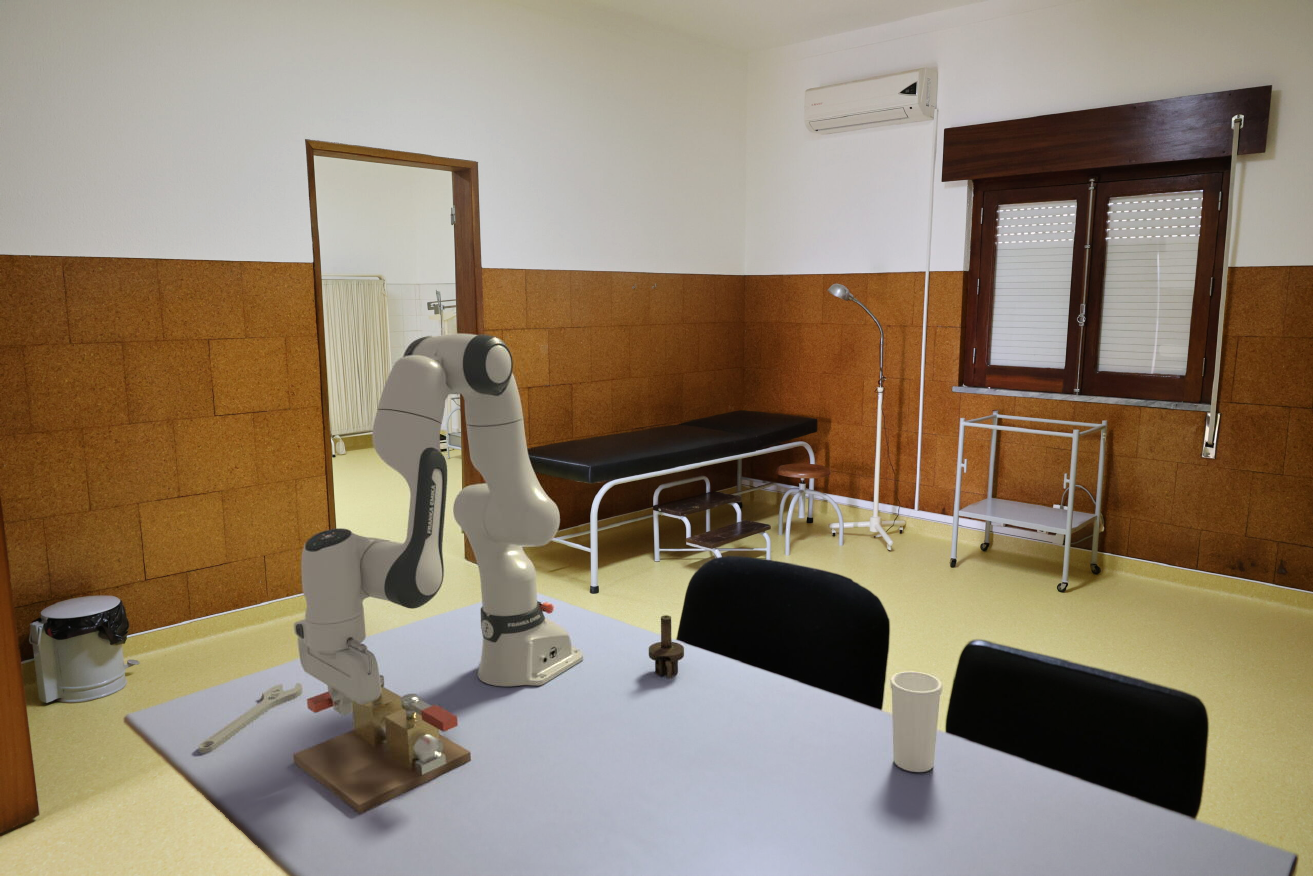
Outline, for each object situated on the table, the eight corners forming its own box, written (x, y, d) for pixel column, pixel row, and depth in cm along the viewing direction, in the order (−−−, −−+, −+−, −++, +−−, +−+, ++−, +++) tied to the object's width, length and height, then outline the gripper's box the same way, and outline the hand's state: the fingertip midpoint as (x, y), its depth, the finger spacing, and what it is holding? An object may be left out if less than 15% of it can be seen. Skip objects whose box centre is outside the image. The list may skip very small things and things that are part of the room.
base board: (400, 718, 158) (400, 711, 158) (470, 760, 143) (470, 752, 143) (294, 762, 143) (293, 754, 143) (360, 814, 129) (359, 805, 128)
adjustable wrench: (208, 757, 147) (207, 748, 146) (179, 752, 148) (178, 743, 148) (308, 692, 170) (307, 684, 170) (281, 688, 172) (281, 680, 172)
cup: (939, 755, 142) (943, 674, 140) (939, 781, 134) (942, 696, 132) (889, 747, 145) (891, 668, 142) (885, 773, 137) (888, 689, 135)
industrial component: (678, 683, 170) (677, 625, 168) (644, 679, 172) (642, 622, 171) (690, 663, 179) (689, 609, 177) (657, 660, 181) (656, 606, 179)
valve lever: (379, 681, 150) (378, 672, 149) (387, 686, 148) (386, 677, 148) (307, 708, 140) (306, 699, 140) (315, 713, 138) (314, 704, 138)
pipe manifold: (379, 719, 155) (375, 664, 153) (468, 774, 136) (465, 712, 134) (350, 731, 150) (345, 675, 149) (438, 789, 132) (434, 726, 130)
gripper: (388, 641, 133) (394, 724, 135) (324, 611, 146) (331, 686, 149) (350, 654, 128) (357, 740, 130) (288, 621, 142) (295, 699, 144)
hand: (343, 711), depth 140 cm, fingers closed
